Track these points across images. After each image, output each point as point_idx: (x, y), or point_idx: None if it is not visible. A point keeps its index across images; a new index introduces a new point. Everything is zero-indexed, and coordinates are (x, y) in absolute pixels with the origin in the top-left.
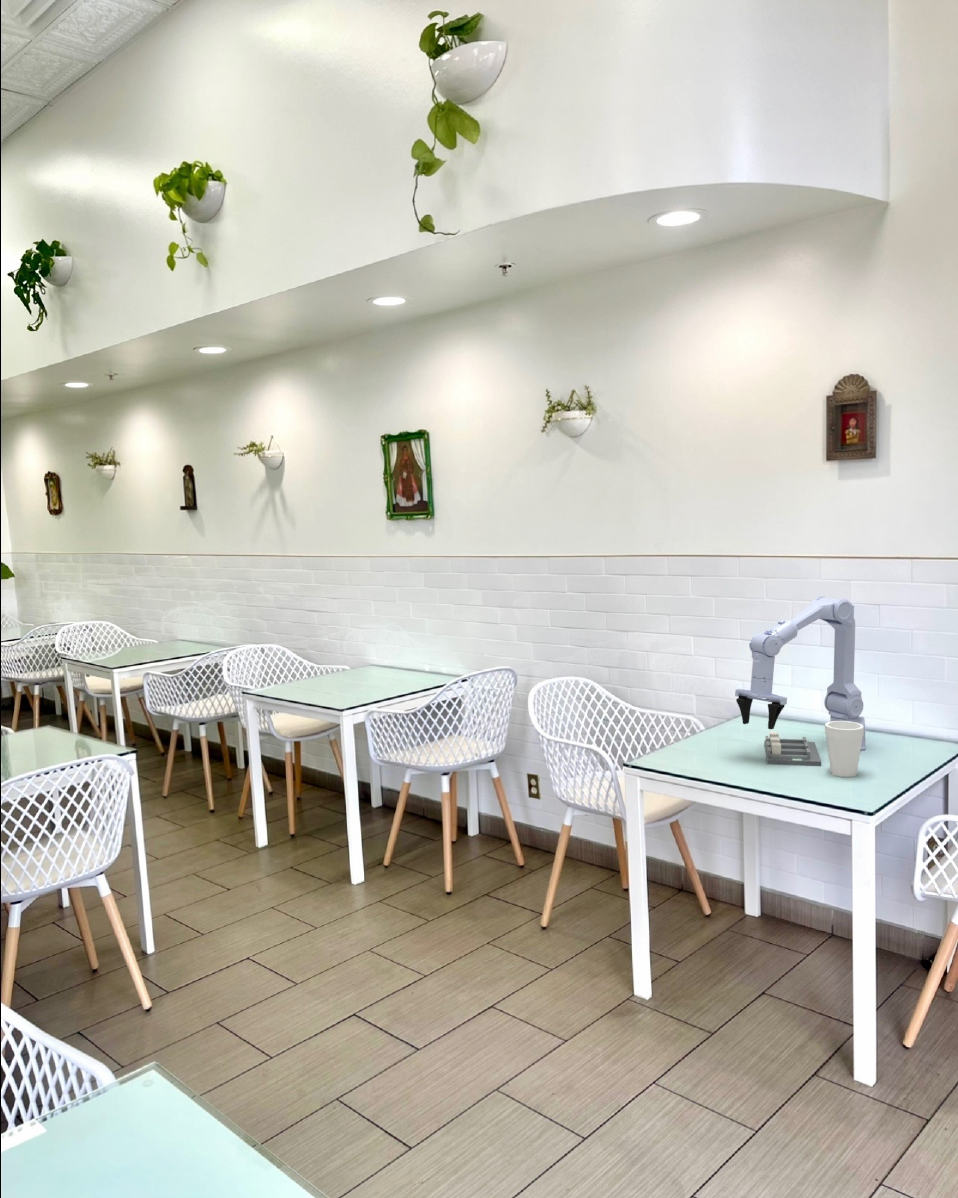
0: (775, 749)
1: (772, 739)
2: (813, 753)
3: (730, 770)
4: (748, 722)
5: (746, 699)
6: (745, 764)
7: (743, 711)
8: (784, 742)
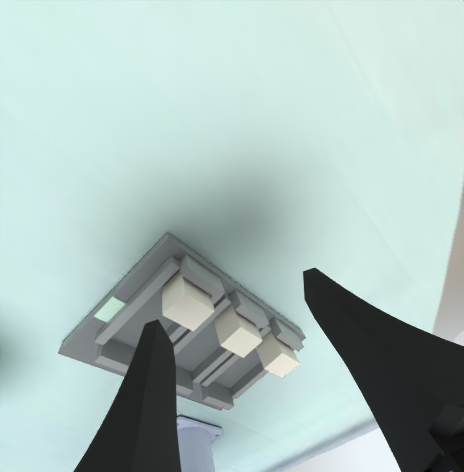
0: (175, 292)
1: (239, 332)
2: None
3: (182, 51)
4: (307, 302)
5: (437, 449)
6: (208, 169)
7: (361, 321)
8: (261, 363)
